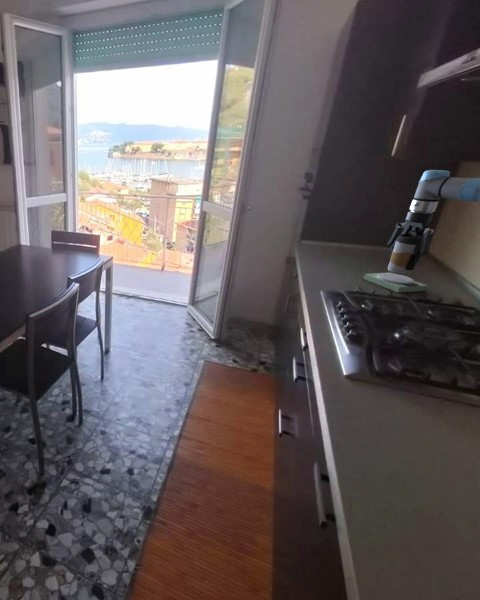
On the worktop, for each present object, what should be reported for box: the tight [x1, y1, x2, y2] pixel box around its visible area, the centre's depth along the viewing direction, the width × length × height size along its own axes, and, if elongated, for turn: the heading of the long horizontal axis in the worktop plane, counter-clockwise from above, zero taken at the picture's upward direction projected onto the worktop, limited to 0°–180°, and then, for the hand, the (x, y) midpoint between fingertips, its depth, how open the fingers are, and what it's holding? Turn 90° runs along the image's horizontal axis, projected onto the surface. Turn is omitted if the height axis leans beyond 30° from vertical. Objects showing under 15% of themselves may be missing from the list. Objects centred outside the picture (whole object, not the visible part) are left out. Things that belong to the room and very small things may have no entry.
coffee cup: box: [387, 234, 423, 275], centre depth 147 cm, size 8×8×15 cm
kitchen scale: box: [363, 271, 428, 294], centre depth 152 cm, size 16×13×3 cm
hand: (399, 266), depth 150 cm, fingers closed on coffee cup, 7 cm apart
